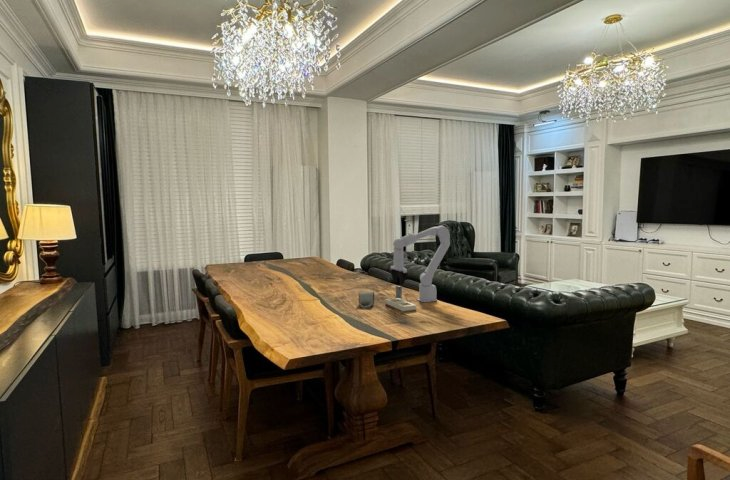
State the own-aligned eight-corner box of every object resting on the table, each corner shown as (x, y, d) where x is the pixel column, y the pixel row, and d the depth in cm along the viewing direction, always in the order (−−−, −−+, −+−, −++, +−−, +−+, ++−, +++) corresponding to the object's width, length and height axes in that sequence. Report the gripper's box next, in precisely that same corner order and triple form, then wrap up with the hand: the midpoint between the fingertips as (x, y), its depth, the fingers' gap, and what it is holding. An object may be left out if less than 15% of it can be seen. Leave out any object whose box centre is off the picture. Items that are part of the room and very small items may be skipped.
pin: (399, 299, 245) (399, 285, 245) (402, 300, 242) (403, 286, 242) (394, 299, 244) (394, 286, 243) (397, 301, 241) (397, 287, 240)
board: (398, 303, 236) (398, 297, 236) (416, 310, 220) (416, 305, 220) (385, 304, 232) (385, 299, 232) (403, 312, 216) (403, 306, 216)
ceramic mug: (360, 303, 236) (359, 289, 235) (374, 303, 235) (374, 290, 234) (357, 308, 225) (357, 294, 224) (372, 309, 224) (372, 294, 224)
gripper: (386, 258, 245) (386, 281, 246) (399, 261, 232) (399, 286, 233) (396, 257, 248) (396, 280, 250) (410, 260, 235) (410, 285, 237)
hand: (398, 283), depth 242 cm, fingers open, 7 cm apart
